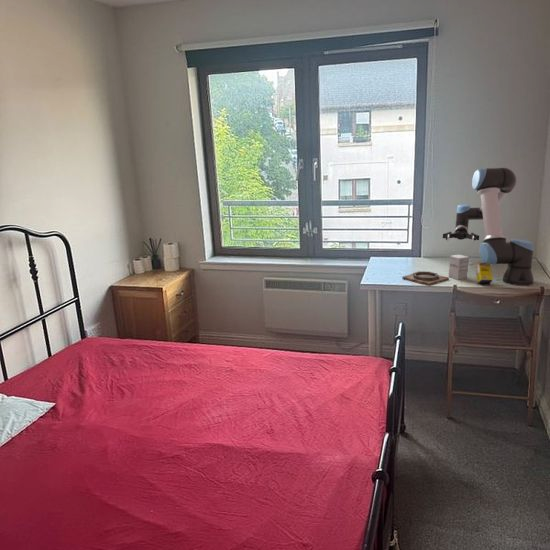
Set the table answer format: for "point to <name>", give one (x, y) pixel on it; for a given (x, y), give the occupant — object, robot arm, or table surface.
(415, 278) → the mount plate
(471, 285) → the table surface
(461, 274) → the supplement box
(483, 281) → the supplement box
